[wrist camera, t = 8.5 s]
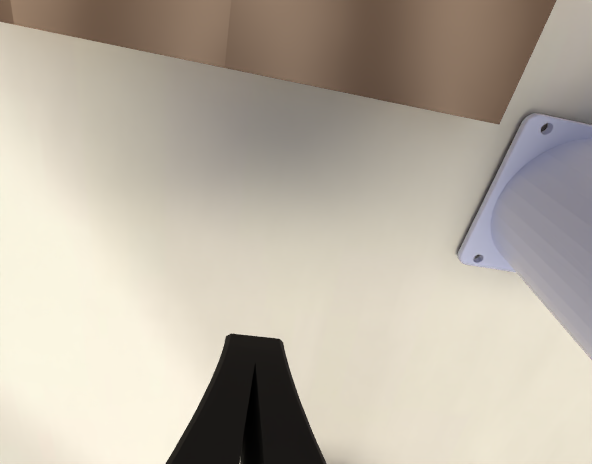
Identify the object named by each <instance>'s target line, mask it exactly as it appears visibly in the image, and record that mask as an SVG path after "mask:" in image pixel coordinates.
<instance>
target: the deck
mask: <svg viewBox="0 0 592 464" xmlns="http://www.w3.org/2000/svg"><path fill="white" fill-rule="evenodd" d="M555 2H556V0H0V22H5V23H10V24H15V25H19V26H24V27H29V28H34V29H39V30H44V31H48V32H53V33H58V34H63V35H68V36H73V37H78V38H82V39H87V40H92V41H97V42H102V43H107V44H112V45H116V46H121V47H126V48H131V49H136V50H141V51H146V52H150V53H155V54H160V55H165V56H170V57H175V58H179V59H184V60H189V61H194V62H199V63H204V64H209V65H213V66H218V67H223V68H228V69H233V70H238V71H243V72H247V73H252V74H257V75H262V76H267V77H272V78H277V79H281V80H286V81H291V82H296V83H301V84H306V85H311V86H315V87H320V88H325V89H330V90H335V91H340V92H344V93H349V94H354V95H359V96H364V97H369V98H374V99H378V100H383V101H388V102H393V103H398V104H403V105H408V106H412V107H417V108H422V109H427V110H432V111H437V112H442V113H446V114H451V115H456V116H461V117H466V118H471V119H475V120H480V121H485V122H490V123H495V124H500V122H501V119H502V117H503V115H504V113H505V111H506V109H507V106H508V104H509V102H510V100H511V98H512V96H513V93H514V91H515V89H516V87H517V85H518V83H519V80H520V78H521V76H522V74H523V72H524V70H525V67H526V65H527V63H528V61H529V59H530V57H531V54H532V52H533V50H534V48H535V46H536V44H537V41H538V39H539V37H540V35H541V33H542V31H543V28H544V26H545V24H546V22H547V20H548V18H549V15H550V13H551V11H552V9H553V7H554V5H555Z"/></svg>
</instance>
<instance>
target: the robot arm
mask: <svg viewBox="0 0 592 464" xmlns="http://www.w3.org/2000/svg"><path fill="white" fill-rule="evenodd" d="M546 123H548V126H547V128H546V129H545V130H544V131H543V132H541V127H542V126H543V125H544V124H546ZM476 255H480V256H479V257H477V258H474V257H475V256H476ZM458 258H459V260H460V261H461V262H462V263H463V264H466V265H473V266H479V267H485V268H492V269H498V270H504V271H511V272H516V273H517V274H518V275H519V276H520V277H521V278H522V280H523V281H524V282H525V283H526V284H527V285H528V286H529V288H530V289H531V290H532V291H533V292H534V293H535V295H536V296H537V297H538V298H539V299H540V300H541V302H542V303H543V304H544V305H545V306H546V307H547V309H548V310H549V311H550V312H551V313H552V314H553V315H554V317H555V318H556V319H557V320H558V321H559V322H560V324H561V325H562V326H563V327H564V328H565V329H566V331H567V332H568V333H569V334H570V335H571V336H572V338H573V339H574V340H575V341H576V342H577V343H578V345H579V346H580V347H581V348H582V349H583V350H584V351H585V353H586V354H587V355H588V356H589V357H590V358H591V360H592V125H590V124H586V123H581V122H576V121H572V120H567V119H562V118H558V117H553V116H548V115H543V114H539V113H533V114H530V115H528V116H527V117H526V118H525V119H524V120H523V121H522V123H521V125H520V127H519V129H518V131H517V133H516V135H515V137H514V139H513V141H512V143H511V146H510V148H509V150H508V152H507V154H506V156H505V158H504V160H503V162H502V164H501V166H500V168H499V170H498V172H497V174H496V176H495V178H494V180H493V182H492V184H491V186H490V188H489V190H488V192H487V194H486V197H485V199H484V201H483V203H482V205H481V207H480V209H479V211H478V213H477V215H476V217H475V219H474V221H473V223H472V225H471V227H470V229H469V231H468V233H467V235H466V237H465V239H464V241H463V243H462V246H461V248H460V250H459V252H458ZM239 463H240V464H326V461H325V459H324V457H323V455H322V453H321V450H320V448H319V446H318V444H317V442H316V439H315V437H314V434H313V432H312V430H311V427H310V425H309V422H308V420H307V417H306V414H305V412H304V409H303V407H302V404H301V402H300V399H299V396H298V393H297V390H296V388H295V384H294V381H293V378H292V375H291V372H290V369H289V365H288V362H287V358H286V354H285V350H284V345H283V342H282V341H281V340H280V339H276V338H267V337H257V336H248V335H239V334H230V335H228V336H226V339H225V344H224V347H223V351H222V354H221V357H220V359H219V362H218V365H217V367H216V370H215V372H214V374H213V377H212V379H211V381H210V383H209V385H208V387H207V389H206V391H205V393H204V396H203V398H202V400H201V402H200V404H199V406H198V408H197V410H196V412H195V413H194V415H193V417H192V419H191V421H190V423H189V424H188V426H187V428H186V430H185V431H184V433H183V435H182V437H181V438H180V440H179V442H178V444H177V445H176V447H175V449H174V451H173V452H172V454H171V456H170V457H169V459H168V460H167V462H166V464H239Z"/></svg>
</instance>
